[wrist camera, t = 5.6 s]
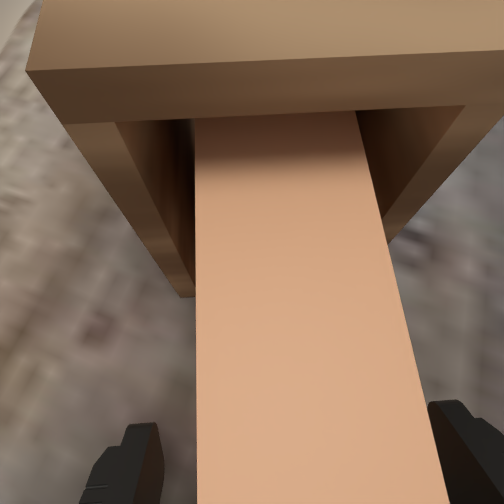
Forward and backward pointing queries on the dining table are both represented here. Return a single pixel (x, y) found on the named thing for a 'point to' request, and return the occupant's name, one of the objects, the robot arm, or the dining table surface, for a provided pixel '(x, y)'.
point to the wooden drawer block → (301, 323)
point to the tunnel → (265, 92)
